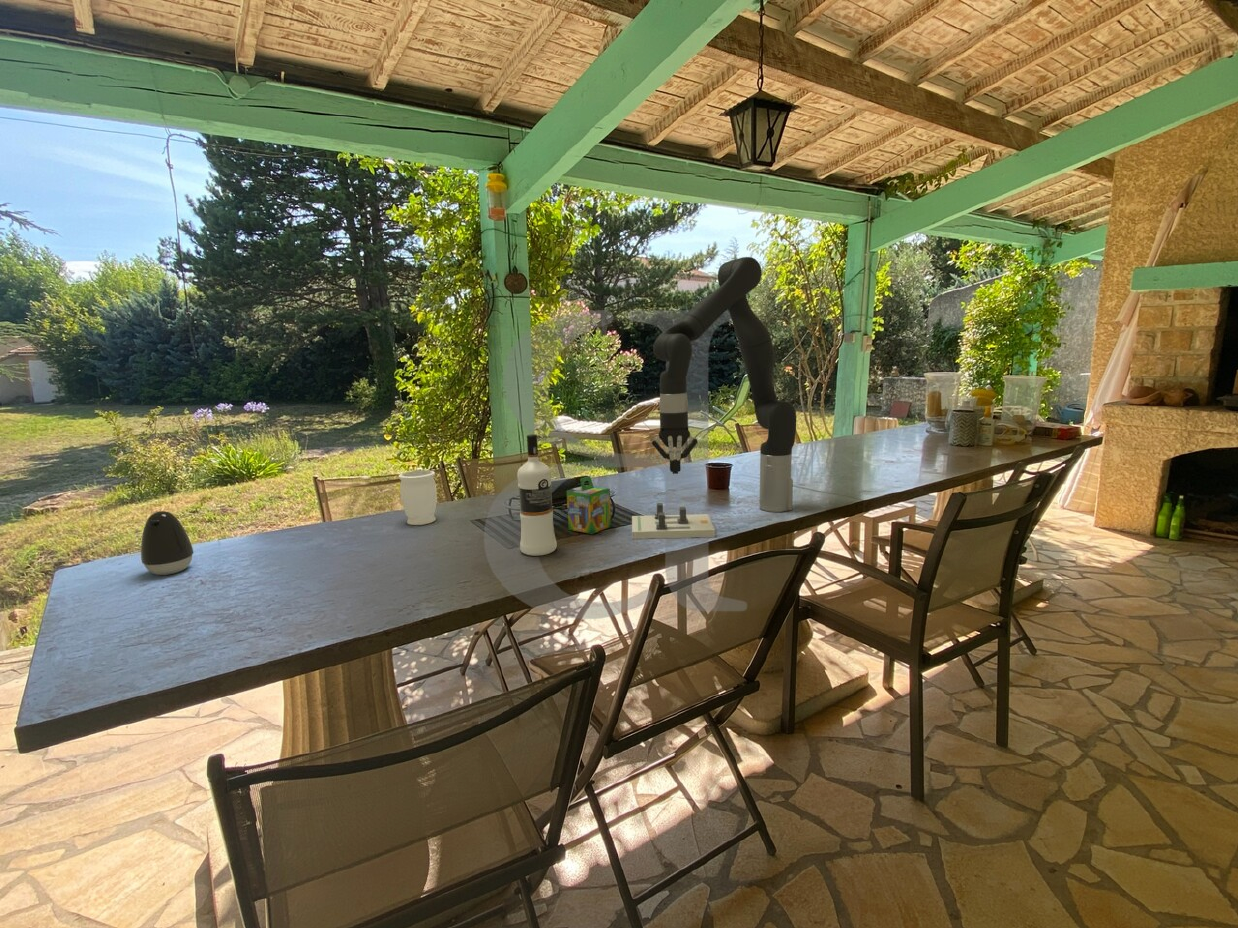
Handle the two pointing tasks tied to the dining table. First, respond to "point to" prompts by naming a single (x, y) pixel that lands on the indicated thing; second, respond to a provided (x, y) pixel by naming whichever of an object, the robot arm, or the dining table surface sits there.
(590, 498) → the chalk box
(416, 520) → the jar
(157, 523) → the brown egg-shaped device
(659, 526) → the handle
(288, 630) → the dining table surface
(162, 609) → the dining table surface
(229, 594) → the dining table surface
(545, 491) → the vodka
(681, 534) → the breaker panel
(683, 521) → the handle
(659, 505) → the handle
